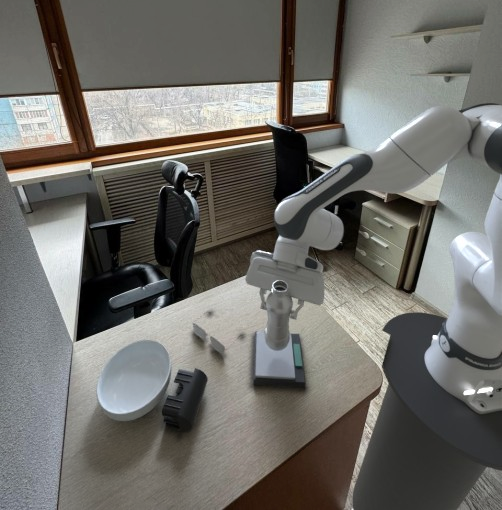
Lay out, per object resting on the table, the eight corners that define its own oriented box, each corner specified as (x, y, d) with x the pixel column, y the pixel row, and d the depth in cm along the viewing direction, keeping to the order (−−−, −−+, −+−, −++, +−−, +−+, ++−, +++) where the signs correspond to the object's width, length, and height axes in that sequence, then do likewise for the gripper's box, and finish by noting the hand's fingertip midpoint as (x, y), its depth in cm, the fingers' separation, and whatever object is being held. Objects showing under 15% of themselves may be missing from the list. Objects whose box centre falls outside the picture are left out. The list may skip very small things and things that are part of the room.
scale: (298, 338, 80) (299, 331, 79) (304, 387, 68) (305, 380, 67) (255, 336, 80) (255, 329, 79) (253, 384, 68) (253, 377, 67)
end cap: (193, 437, 59) (191, 419, 56) (163, 429, 60) (159, 411, 57) (208, 387, 68) (207, 370, 65) (182, 381, 69) (180, 364, 66)
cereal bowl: (169, 425, 61) (165, 407, 58) (90, 439, 58) (82, 420, 56) (177, 351, 76) (174, 334, 73) (115, 360, 74) (110, 342, 71)
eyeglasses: (191, 330, 82) (191, 320, 81) (210, 313, 88) (210, 304, 87) (225, 358, 75) (226, 347, 73) (243, 337, 81) (244, 327, 79)
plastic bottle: (263, 331, 74) (265, 275, 67) (287, 331, 74) (292, 275, 67) (264, 354, 69) (266, 296, 61) (290, 354, 69) (296, 296, 61)
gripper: (250, 246, 72) (236, 302, 67) (328, 266, 65) (319, 328, 60) (255, 250, 77) (243, 301, 73) (328, 268, 71) (319, 325, 66)
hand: (278, 314), depth 66 cm, fingers closed on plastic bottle, 6 cm apart
